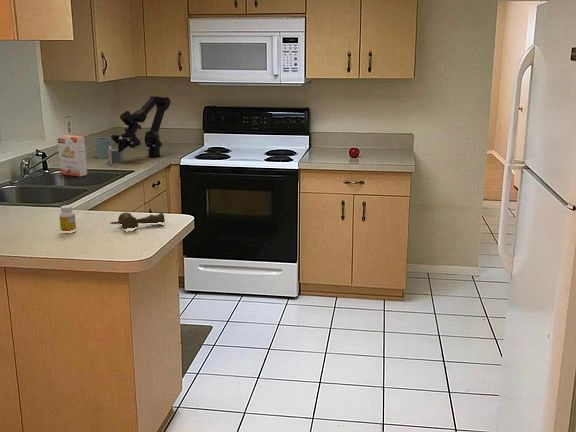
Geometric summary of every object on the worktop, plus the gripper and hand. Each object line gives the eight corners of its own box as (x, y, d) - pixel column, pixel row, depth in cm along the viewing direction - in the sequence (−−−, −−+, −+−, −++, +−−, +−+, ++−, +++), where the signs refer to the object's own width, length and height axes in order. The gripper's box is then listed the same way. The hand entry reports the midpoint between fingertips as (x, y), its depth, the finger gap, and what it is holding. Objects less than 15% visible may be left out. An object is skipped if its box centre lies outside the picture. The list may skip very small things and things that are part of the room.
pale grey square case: (109, 162, 374) (108, 146, 371) (112, 162, 374) (111, 145, 372) (109, 165, 364) (107, 148, 361) (111, 165, 364) (110, 148, 362)
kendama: (167, 229, 238) (112, 234, 229) (161, 223, 246) (108, 228, 238) (166, 213, 236) (112, 218, 228) (160, 208, 245) (107, 212, 237)
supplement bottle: (57, 232, 231) (55, 206, 228) (70, 229, 235) (68, 204, 233) (66, 235, 228) (64, 209, 225) (79, 231, 232) (77, 206, 229)
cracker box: (60, 174, 338) (56, 135, 333) (68, 172, 343) (65, 134, 338) (79, 177, 332) (76, 137, 326) (87, 175, 337) (84, 136, 331)
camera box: (107, 162, 374) (106, 149, 372) (110, 160, 381) (109, 148, 379) (121, 162, 374) (120, 149, 372) (124, 160, 381) (123, 148, 379)
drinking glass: (99, 159, 386) (97, 139, 383) (92, 157, 393) (91, 138, 390) (115, 157, 392) (113, 138, 389) (108, 155, 400) (106, 136, 397)
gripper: (150, 139, 377) (138, 161, 371) (126, 137, 386) (115, 158, 379) (140, 128, 368) (128, 149, 362) (116, 126, 377) (104, 147, 371)
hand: (119, 151), depth 369 cm, fingers closed
